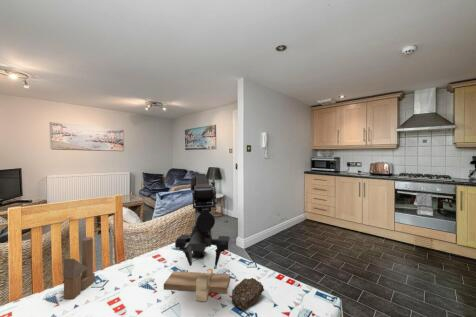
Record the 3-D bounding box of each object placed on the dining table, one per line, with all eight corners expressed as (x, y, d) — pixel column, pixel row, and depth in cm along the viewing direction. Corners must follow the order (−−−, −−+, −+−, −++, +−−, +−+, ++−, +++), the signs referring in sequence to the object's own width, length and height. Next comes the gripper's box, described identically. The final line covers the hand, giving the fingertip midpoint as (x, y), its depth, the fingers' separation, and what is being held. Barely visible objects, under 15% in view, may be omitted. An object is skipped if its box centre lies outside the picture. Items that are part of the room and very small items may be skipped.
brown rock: (251, 286, 80) (251, 272, 80) (268, 300, 72) (268, 286, 72) (225, 296, 74) (225, 282, 74) (240, 314, 66) (240, 297, 66)
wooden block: (63, 299, 72) (63, 247, 72) (86, 281, 83) (86, 236, 83) (73, 299, 72) (73, 247, 72) (95, 281, 83) (95, 236, 83)
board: (173, 275, 87) (173, 271, 87) (230, 279, 85) (230, 274, 85) (163, 289, 78) (163, 283, 78) (226, 293, 76) (226, 287, 76)
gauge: (206, 278, 85) (206, 261, 85) (214, 278, 85) (214, 261, 85) (196, 300, 71) (196, 280, 71) (206, 301, 71) (206, 281, 71)
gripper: (168, 228, 67) (168, 277, 66) (225, 230, 65) (225, 280, 65) (181, 218, 78) (181, 260, 78) (230, 220, 76) (230, 263, 76)
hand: (203, 265), depth 74 cm, fingers open, 9 cm apart
